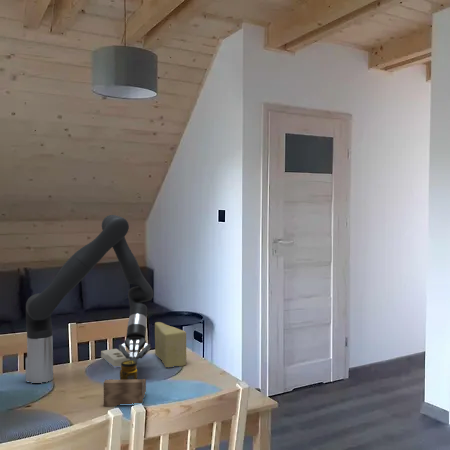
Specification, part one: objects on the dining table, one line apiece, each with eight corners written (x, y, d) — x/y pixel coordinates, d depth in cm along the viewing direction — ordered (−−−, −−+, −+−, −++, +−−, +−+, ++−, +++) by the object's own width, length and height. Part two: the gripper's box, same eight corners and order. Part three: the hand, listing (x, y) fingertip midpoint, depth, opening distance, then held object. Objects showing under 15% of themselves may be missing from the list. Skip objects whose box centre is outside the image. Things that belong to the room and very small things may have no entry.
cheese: (146, 355, 230) (146, 322, 229) (166, 352, 234) (166, 319, 234) (165, 369, 210) (165, 333, 210) (187, 365, 215) (187, 330, 214)
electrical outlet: (116, 346, 230) (130, 356, 215) (116, 355, 230) (130, 366, 215) (101, 348, 227) (114, 359, 211) (101, 357, 227) (114, 369, 211)
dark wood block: (103, 406, 172) (103, 382, 172) (109, 394, 183) (109, 372, 182) (142, 405, 173) (142, 382, 172) (145, 394, 183) (145, 372, 183)
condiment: (139, 391, 186) (139, 359, 185) (137, 400, 177) (137, 366, 177) (119, 392, 185) (118, 359, 185) (116, 401, 177) (115, 367, 176)
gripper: (119, 323, 203) (113, 363, 191) (152, 322, 203) (149, 362, 192) (121, 332, 209) (116, 372, 197) (154, 332, 209) (150, 372, 197)
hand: (132, 367), depth 194 cm, fingers closed
